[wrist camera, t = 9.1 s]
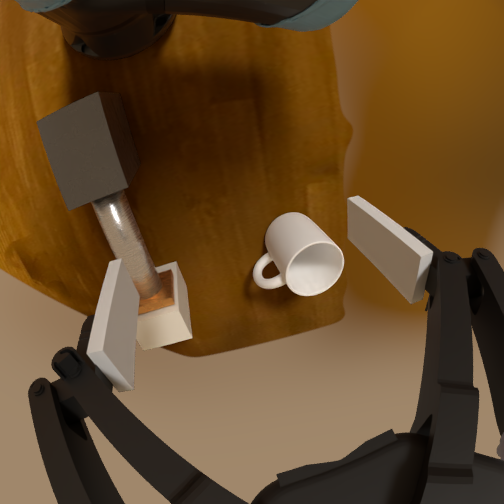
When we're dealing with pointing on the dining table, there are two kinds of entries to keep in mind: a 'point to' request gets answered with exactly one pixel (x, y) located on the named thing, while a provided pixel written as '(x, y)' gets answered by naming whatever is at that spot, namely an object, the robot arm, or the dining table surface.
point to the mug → (299, 256)
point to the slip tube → (133, 252)
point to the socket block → (166, 317)
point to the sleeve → (90, 148)
